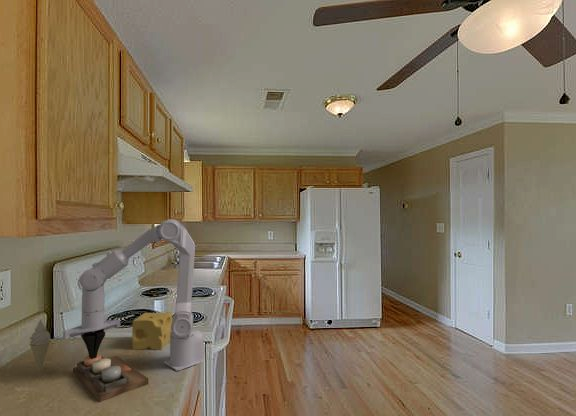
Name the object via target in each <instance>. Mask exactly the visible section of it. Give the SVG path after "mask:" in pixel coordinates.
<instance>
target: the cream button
mask: <svg viewBox="0 0 576 416" xmlns="http://www.w3.org/2000/svg"><path fill="white" fill-rule="evenodd" d="M107 367H111V360H110V359H106V358H104V359H99V360H96V361H94V362H93V370H92V371H93V372H94V373H101V372H102V370H103V369H105V368H107Z"/></svg>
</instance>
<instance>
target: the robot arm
mask: <svg viewBox="0 0 576 416" xmlns="http://www.w3.org/2000/svg"><path fill="white" fill-rule="evenodd" d="M162 240H163V241H165V242H167V243H170V244H171V245H173V246H174V248H175V249H177V250H178V252H179V255H178V257H179V259H178V270H177V271H178V272H177V273H178V274H177V288H176V303H175V312H174V314H172V324H171V331H172V332H171V333H170V341H169V359H168V360H165V361H164V364H165V365H167V366H168V367H170V368H171V369H173V370H175V372H176V371H177V372H178V371H182V370H184V369H187V368H189V367H194V366H195V365H198V364H201V363H204V362H205V360H206V359H204V338H203V337H204V336H203V334H202V333H201V331H200V330H198V329H194V315H193V312H192V299H193V298H192V297H193V296H192V295H193V283H194V271H195V269H194V268H195V254H196V253H195V252H196V244H195V242H194V239H193V238H192V237H191V235H190V234H189V232H188V231H187V228H186V227H185V226H184V224H182V223H181V222H180V221H178V220H176V219H172V218H171V219H165V220H164V221H162V222H161V223H160V224H157V225H156V226H154V227H151V228H150V229H148V230H146V231H145V232H144V233H143V234H141V235H140V236H139V237H137V238H136V239H134V241H132V242H131V243H129V244H128V245H127V246H126V247H124V249H122V250H118V249H115V250H113V251H111V250H110V251H108V252H107V253H106V254H105V255H106V256H104V257H103V258H102V259H101V260H99V261H98V262H94V263H93V264H91V266H92V267H91V268H89V269H86V270H84V272H83V273H82V274H81V275H80V277H79V280H78V281H79V285H80V287H81V290H82V291H81V325H78V326H76V327H73V328H69V329H65V330H63V331H62V338H63V339H64V340H68V339H70V338H74V337H78V336H80V337H81V338H82V340H83V342H84V344H85V346H86V349H87V353H88V356H89V358H90V359H94V358H97V354H98V353H99V350H100V347H101V344H102V342H103V340H104V338H105V336H106V332H105V331H106V330H110V329H115V328H121V320H120V319H117V318H116V319H112V320H105V283H106V281H107V280H109V279H111V278H113V277H114V276H115V275H117V274H118V273H119V272H120V271H122V270H123V269H125V268H126V267H127V266H128V265H129V259H130V258H131V257H133V256H134V255H135V254H137V253H138V252H140V251H142V249H144V248H146V247H147V246H149V245H150V244H151V243H158V242H161V241H162Z"/></svg>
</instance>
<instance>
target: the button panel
mask: <svg viewBox="0 0 576 416" xmlns="http://www.w3.org/2000/svg"><path fill="white" fill-rule="evenodd" d="M102 359H110V360H111V366H119V367H121V377H120V378H118V379H116V380H114V381H103V380H102V372H101V373H94V372H93V371H92V370H93V366H91V367H87V368H86V367H85V366H84V360H80V361H79V362H76V366H74V367H72V375H74V377H76V378H77V380H79V381H80V382H81V383H82V385H84V386H85V387H86V388H87V390H88V391H89V392H91V393H92V394H93V396H94V397H96V399H97V400H98V401H99V402H104V401H106V400H108V399H111V398H114V397H116V396H119V395H122V394H125V393H127V392H130V391H134V390H136V389H139V388H141V387H144V386H148V385H149V377H147V376H146V375H144V374H143V373H142V372H140V371H139V370H138V369H136V368H134V367H133V366H131V365H130V364H129V363H128V362H126V361H125V360H123V359H122V358H120V357H119V356H117V355H114V356H111V357H110V356H109V357H107V358H105V357H103V356H102Z"/></svg>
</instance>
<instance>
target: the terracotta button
mask: <svg viewBox="0 0 576 416" xmlns="http://www.w3.org/2000/svg"><path fill="white" fill-rule="evenodd" d="M102 357H103V356H102V354H98V353H97V358H94V359H90V358H89V355H88V356H85V357H84V358H83V361H84V366H85V367H86V368H87V367H91V366H93V362H94V361H96V360H99V359H102Z"/></svg>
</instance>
